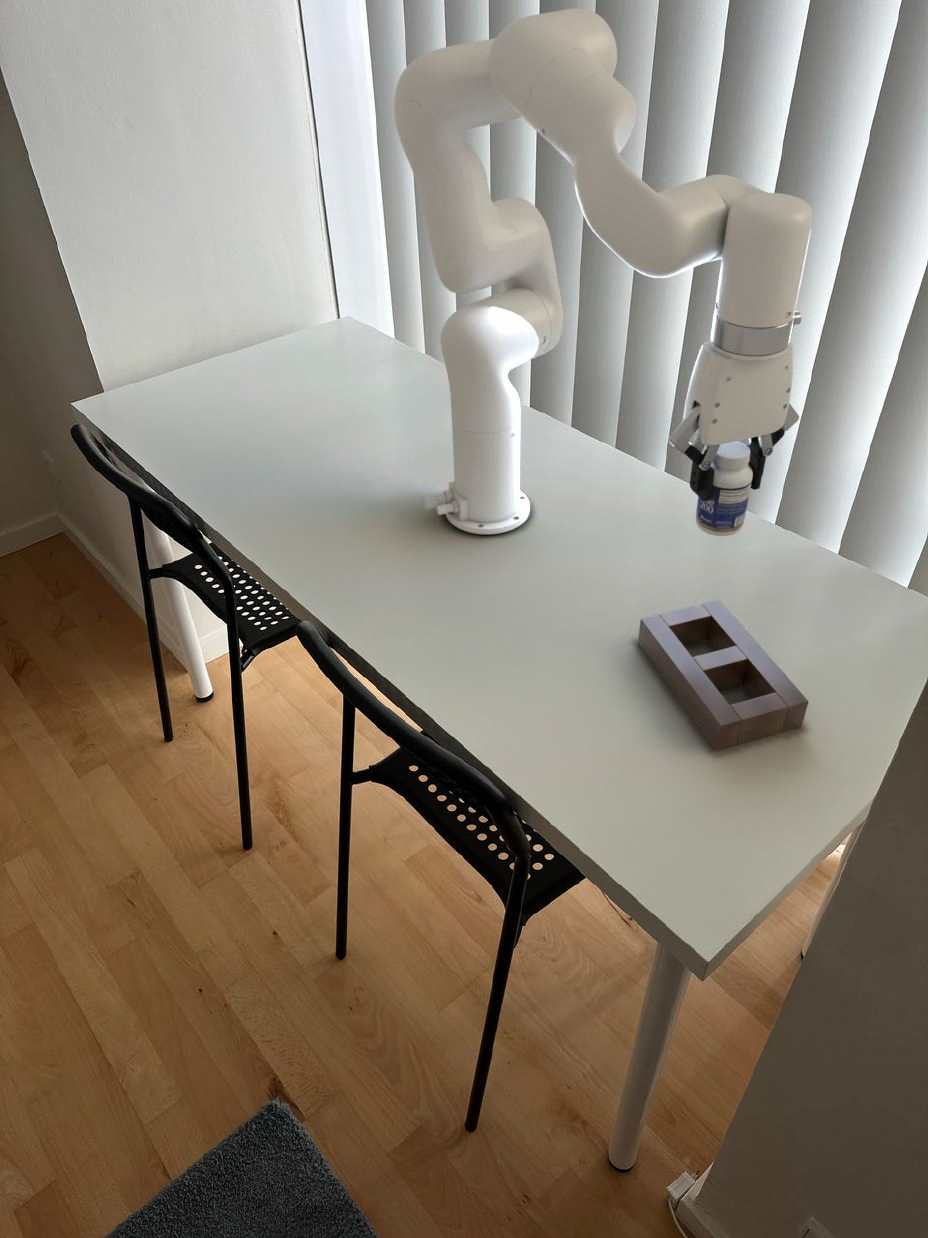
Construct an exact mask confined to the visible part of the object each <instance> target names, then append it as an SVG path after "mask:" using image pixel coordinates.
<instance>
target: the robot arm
mask: <svg viewBox="0 0 928 1238" xmlns="http://www.w3.org/2000/svg"><path fill="white" fill-rule="evenodd" d="M617 62H618V48H617V41H616V39H615V35H614V33H613V31H612V29H611V28H610V25H609V24H608V23H607V22H606V21H605V19H604V18H603V17H602V16H600V14H598V13H596V12H595V11H592V10H590V9H588V8H584V7H572V8H566V9H560V10H555V11H550V12H544V13H538V14H532V15H527V16H524V17H521V18H518V19H517V20H514V21H512V22H511V23H510V24H508V25H506V26H505V27H504V28H503V29H502V30H501V31H500V32H499V33H498V34H497V35H496V37H494V38H489V39H484V40H483V39H482V40H479V41H473V42H465V43H460V44H454V45H450V46H445V47H442V48H438V49H437V48H436V49H435V50H432V51H429V52H427V53H424V54H422V55H420V56H418V57H417V58H416V59H414V60H413V61H411V62H410V63H409V64H407V66H406V67H405V68H404V70H403V71H402V72H401V74H400V77H398V81H397V84H396V88H395V92H394V99H393V108H394V109H393V114H394V121H395V127H396V131H397V134H398V138H399V141H400V143H401V147H402V150H403V152H404V155H405V156H406V157H405V158H406V159H407V161H408V163H409V166H410V168H411V171H412V174H413V177H414V179H415V183H416V186H417V190H418V194H419V200H420V205H421V210H422V214H423V218H424V222H425V227H426V232H427V236H428V241H429V245H430V249H431V254H432V258H433V263H434V267H435V270H436V272H437V275H438V278H439V280H440V282H441V284H442V286H443V287H444V288H445V289H447V290H448V291H449V292H452V293H455V294H469V293H473V292H477V291H480V290H483V289H487V288H490V287H492V286H495V285H498V284H500V283H503V289H504V291H502V292H500V293H497V294H493V295H490V296H487V297H484V298H482V299H479V300H477V301H474V302H471V303H468V304H466V305H464V306H463V307H461V308H459V309H457V310H455V312H453V313H452V314H450V316H448V318H447V319H446V321H445V322H444V324H443V326H442V328H441V331H440V338H439V340H440V348H441V355H442V357H443V362H444V365H445V370H446V374H447V378H448V387H449V396H450V412H451V413H450V414H451V428H452V451H453V452H452V453H453V455H452V456H453V476H454V477H453V478H454V481H450V482H448V489H446V490H443V492H442V493H437V494H431V495H426V496H423V497H422V502H423V507H424V509H425V510H431V509H435V510H436V513H437V515H438V516H441V515H445V516H446V519H447V520H448V522H449V523H451V525H452V526H454V527H456V528H457V529H459V530H461V531H464V532H467V533H470V534H474V535H498V534H503V533H506V532H509V531H513V530H515V529H516V528H519V527H520V526H522V525H523V524H524V523H525V522H526V521H527V520H528V519H529V516H530V515H531V514H530V513H531V503H530V500H529V498H528V497H527V495H526V494H525V493H523V492H522V491H521V489H520V488H521V486H520V485H521V401H520V397H519V394H518V391H517V390H516V388H515V387H514V386H513V384H512V383H511V381H510V380H509V376H508V375H509V372H510V371H511V370H513V369H514V368H517V367H518V366H520V365H522V364H525V363H527V362H529V361H532V360H534V359H536V358H538V357H540V356H543V355H545V354H547V353H549V352H550V351H552V350H553V349H554V348H556V346H557V345H558V343H560V340H561V338H562V335H563V331H564V309H563V303H562V298H561V290H560V286H559V279H558V272H557V267H556V260H555V255H554V254H555V253H554V248H553V244H552V243H553V242H552V239H551V234H550V231H549V227H548V225H547V222H546V221H545V219H544V217H543V215H542V213H541V212H540V210H538V208H537V207H536V206H535V205H534V204H533V203H531V202H530V201H528V200H527V199H524V198H521V197H515V196H513V197H506V198H501V199H498V200H495V201H493V200H492V197H491V193H490V189H489V183H488V177H487V171H486V169H485V166H484V163H483V162H482V160H481V158H480V157H479V155H478V153H477V152H476V150H475V149H474V148H473V146H472V144H470V143H469V142H468V141H467V140H466V139H465V137H463V136H462V134H463V133H464V132H466V131H468V130H471V129H476V128H481V127H486V126H489V125H494V124H497V123H502V122H506V121H509V120H514V119H518V118H523V120H524V121H525V122H526V123H527V124H528V125H530V127H532V128H533V129H534V130H535V131H536V132H537V133H538V134H539V135H540V136H541V137H542V138H544V140H545V141H547V142H548V143H549V144H550V145H551V146H552V147H553V148H554V150H556V151H557V152H558V154H560V155H561V156H562V157H563V158H564V159H565V160H566V161H567V162H568V163H569V164H570V165H571V166H572V168H573V183H574V190H575V194H576V199H577V201H578V204H579V206H580V210H581V213H582V215H583V218H584V219H585V221H586V223H587V225H588V226H589V228H590V229H591V231H592V232H593V234H595V235H596V237H597V238H598V239H599V240H600V241H601V242H603V244H604V245H605V246H607V247H608V248H609V249H610V250H611V251H612V252H613V253H614V254H615V256H617V257H618V258H619V259H620V260H621V261H622V262H623V263H625V264H626V265H627V266H628V267H629V268H631V269H633V270H635V271H636V272H638V273H640V274H641V275H644V276H646V277H650V278H654V279H665V278H670V277H673V276H676V275H679V274H681V273H683V272H685V271H688V270H691V269H692V268H696V267H697V266H700V265H702V264H705V263H706V264H707V263H710V262H715V261H719V260H721V262H720V269H719V277H718V285H717V289H716V290H717V291H716V298H715V303H714V305H715V306H714V313H713V318H712V326H711V331H710V340H708V341H705V342H703V343H702V345H701V347H700V349H699V351H698V354H697V357H696V359H695V360H696V361H695V363H694V366H693V369H692V373H691V376H690V380H689V384H688V387H687V388H688V390H687V392H686V393H687V394H686V398H685V402H684V403H685V404H684V411H683V416H682V421H681V423H680V424H679V425H678V427H677V428H675V430H674V431H673V432H672V433H671V435H670V436H669V437H668V443H669V444H670V445H671V446H672V447H674V448H675V449H676V450H677V451H679V452H680V453H682V454H683V455H685V456H686V457H687V458H688V459H690V461H692V462H691V463H692V464H691V470H690V476H689V487H690V489H691V491H692V492H693V493H694V494H695V495H696V496H697V497H698V496H699V497H700V498H701V499H702V500H703V501H708V500H709V499H710V498H711V492H712V486H713V480H714V473H715V470H714V469H713V468H712V467H711V464H712V462H713V460H714V458H715V456H716V453H717V451H718V449H719V447H720V445H721V444H725V443H730V442H735V441H738V442H741V441H744V440H748V443H749V444H746V445H747V446H748V447H749V448H750V460H749V463H748V465H749V466H750V467H751V469H752V472H753V478H752V483H751V488H750V490H751V489H752V490H754V491H755V490H759V489H760V487H761V483H762V478H763V475H764V471H765V465H766V460H767V459H766V458H767V457H770V456H771V455H772V454H773V452H774V447H775V446H776V445H777V443H778V442H779V441H780V440H781V439H782V438H783V437H785V433H786V432H787V431H789V430H790V429H791V428H792V427H793V426H794V425H795V424H796V423H797V422H798V421H799V420H800V415H799V413H797V411H796V410H795V408H794V407H793V406H792V405H791V403H790V400H791V395H792V394H791V393H792V387H793V376H794V346H793V343H792V341H791V335H792V330H793V328H794V327H795V326H799V325H800V324H801V322H802V315H801V313H800V312H799V311H798V310H797V311H796V308H797V304H798V299H799V293H800V289H801V284H802V279H803V275H804V269H805V264H806V260H807V259H806V258H807V253H808V248H809V245H810V240H811V239H810V238H811V234H812V228H813V221H814V214H813V211H812V210H813V209H812V207H811V206H810V204H809V203H808V202H807V201H806V200H804V199H802V198H800V197H798V196H795V195H791V194H787V193H781V192H780V193H779V192H778V193H777V192H767V191H765V190H763V189H760V188H758V187H756V186H754V185H752V184H751V183H748V182H746V181H745V180H742V179H740V178H739V177H736V176H732V175H730V174H721V173H719V174H718V173H717V174H711V175H708V176H705V177H701V178H698V179H696V180H693V181H688V182H684V183H682V184H679V185H677V186H673V187H671V188H667V189H664V190H661V191H659V192H657V191H655V190H654V189H653V188H652V187H650V186H649V185H648V184H647V183H646V182H645V181H644V180H643V179H642V178H641V177H640V176H639V175H637V173H635V172H634V171H633V170H632V169H631V168H630V167H629V166H628V165H627V164H626V162H625V160H624V159H623V157H622V156H621V154H620V153H621V152H622V150H623V149H624V147H625V146H626V144H627V142H628V141H629V139H630V137H631V135H632V133H633V131H634V127H635V124H636V120H637V115H638V107H637V101H636V100H635V97H634V95H633V94H632V93H631V92H630V91H629V90H628V89H627V88H626V87H625V86H624V85H622V84H621V83H620V82H619V81H618V80H617V79H616V78H615V77H614V73H615V71H616V67H617ZM697 430H698V431H697ZM696 432H697V433H696ZM695 433H696V435H695V437H694V440H693V442H692V443H691V442H690V439H691V437H692V436H693V435H694V434H695ZM703 451H704V452H703Z"/></svg>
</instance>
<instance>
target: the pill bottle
mask: <svg viewBox="0 0 928 1238" xmlns="http://www.w3.org/2000/svg"><path fill="white" fill-rule="evenodd" d="M747 445H748V444H746V443H744V442H741V441H735V442H730V443H725V444H721V445H720V447H719V449H718V451H717V453H716V456H715V458H714V460H713V462H712V464H711V467H712V468H713V469H714V470H715V473H714V480H713V486H712V492H711V498H710V499H709V500H708V501H703V500H702V499H701V498H700V497H699V496H698V495H697V504H696V508H695V517H694V518H695V519H694V522H695V525H696V527H697V528H698V529H699V530H701V531H702V532H703V533H706V534H708V535H711V536H715V537H728V536H733V535H735V534H738V533H739V532H740V531H741V530H742V528H743V527H744V524H745V523H744V522H745V519H746V513H747V508H748V503H749V498H750V493H751V483H752V478H753V472H752V469H751V467H750V466H749V465H748V463H749V460H750V448H749V447H748V446H747Z"/></svg>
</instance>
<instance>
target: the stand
mask: <svg viewBox="0 0 928 1238" xmlns="http://www.w3.org/2000/svg"><path fill="white" fill-rule="evenodd" d="M639 620H640V622H639V629H638V636H637V637H638V639H637V644H638V646H639V648H641V650H642V652H643V653H644V654H645V656H646V657H647V658H648V659H649V661H650V662H651V664H652V665H653V667H654V668H655V669H656V670H657V672H658V673H659V675H660V676H661V678H662V679H663V680H664V681H665V683H666V684H667V686H668V687H669V689H670V690H671V691H672V693H673V694H674V695H675V697H676V698H677V699H678V701H679V702H680V704H681V705H682V707H683V708H684V709H685V711H686V712H687V713H688V714H689V716H690V717H691V719H692V720H693V721H694V723H695V724H696V726H697V727H698V728H699V730H700V732H701V733H702V734H703V736H704V737H705V738H706V739H707V741H708V742H709V744H710V745H711V746H712V748H713V749H714V750H715V752H717V751H722V750H725V749H728V748H733V747H735V746H739V745H742V744H746V743H748V742H752V741H756V740H760V739H764V738H767V737H771V736H774V735H778V734H781V733H785V732H789V731H791V730H796V729H798V728H799V729H800V728H802V727H803V723H804V720H805V716H806V713H807V709H808V706H809V700H808V699H807V698H806V697H805V696H804V694H803V693H802V692H801V691H800V690H799V689H798V688H797V686H796V685H795V684H794V682H793V681H791V680H790V678H789V677H788V676H787V675H786V673H784V672H783V670H782V669H781V667H779V666H778V665H777V663H776V662H775V661H774V660H773V659H772V658H771V657H770V655H769V654H768V653H767V652H766V651H765V649H764V648H763V647H762V646H761V645H760V644H759V643H758V642H757V641H756V640H755V638H754V637H753V636H752V634H750V632H749V631H748V630H747V629H746V628H745V627H744V626H743V624H741V622H740V621H739V620H738V619H737V617H736V616H734V614H733V613H732V612H731V610H730V609H729V608H727V606H726V605H725V604H724V603H723V602H722V601H721V600H720V599H715V600H711V601H706V602H703V603H699V604H696V605H691V606H688V607H682V608H679V609H675V610H671V611H667V612H663V613H659V614H654V615H651V616H646V617H643V618H642V617H641V618H640V619H639ZM705 641H707V642H708V643H709V644H710V646H711V647H712V648H713V649H714V651H711V652H707V653H702V654H699V655H696V656H692V655H691V654H690V652H689V651H688V650H687V648H686V646H691V645H695V644H698V643H701V642H705ZM739 685H743V687H745V688H746V690H747V691H748V692H749V694H750V695H752V697H753V698H751V699H747V700H743V701H740V702H736V703H732V704H730V703H729V702H728V701H727V699H726V698H725V697H724V696H723V695H722V693H721V692H720V691H721V690H725V689H729V688H732V687H735V686H739Z"/></svg>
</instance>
